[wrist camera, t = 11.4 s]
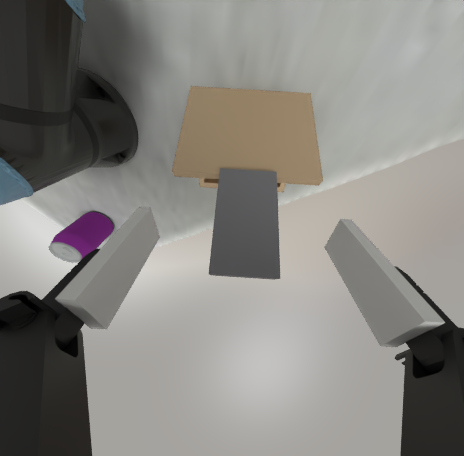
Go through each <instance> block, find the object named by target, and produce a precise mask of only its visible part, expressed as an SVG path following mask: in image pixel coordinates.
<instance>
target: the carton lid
mask: <svg viewBox="0 0 464 456" xmlns="http://www.w3.org/2000/svg"><path fill="white" fill-rule="evenodd" d="M172 172H173V174H174V176H177V177H193V178H209V179H219V182H218V191H217V200H216V210H215V219H214V229H213V238H212V248H211V257H210V266H209V274H210V275H216V276H230V277H245V278H261V279H280V258H279V229H278V197H277V183H288V184H304V185H319V184H320V183H321V182H322V181H323V177H322V170H321V163H320V156H319V149H318V142H317V135H316V128H315V121H314V114H313V107H312V100H311V93H297V92H280V91H263V90H246V89H230V88H213V87H196V86H191V88H190V92H189V97H188V101H187V106H186V110H185V115H184V119H183V124H182V128H181V133H180V137H179V142H178V146H177V151H176V155H175V160H174V164H173V169H172Z"/></svg>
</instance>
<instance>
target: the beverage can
mask: <svg viewBox="0 0 464 456" xmlns="http://www.w3.org/2000/svg"><path fill="white" fill-rule="evenodd" d="M113 229H114V227H113V224H112V222H111V220H110V219H109V218H108V217H106V216H105V215H103V214H100V213H96V212H88V213H86V214H84V215H83V216H81V217H80V218H79V219H77V220H76V221H75V222H73V223H72V224H71V225H69V226H68V227H66V228H65V229H64V230H62V231H61V232H60V233H58V234H57V235H56V236H55V237H54V239H53V241H52V243H51V244H50V246H49V250H50V251H51V253H52V254H54V255H55V256H56V257H58V258H60V259H62V260H64V261H68V262H79V261H80V260H82V259H83V258H84V256H85V255H87V254H89V253H90V252H92V251H93V250H95V249H96V248H97V247H98V246H99V245H100V244H101V243H102V242H103V241H104V240H105V239H106V238H107V237H108V236H109V235H110V234H111V233H112V232H113Z"/></svg>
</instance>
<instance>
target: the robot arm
mask: <svg viewBox="0 0 464 456" xmlns="http://www.w3.org/2000/svg"><path fill="white" fill-rule="evenodd" d="M83 8H84V0H0V205H2V204H6V203H9V202H12V201H15V200H18V199H21V198H24V197H29V196H31V195H32V194H33V193H34V192H36V191H38V190H40V189H43V188H45V187H47V186H49V185H51V184H54V183H56V182H58V181H60V180H62V179H65V178H67V177H69V176H71V175H73V174H76V173H78V172H80V171H82V170H84V169H86V168H89V167H114V166H118V165H121V164H123V163H124V162H126V161H128V160H129V159H130V158H132V156H133V155H134V153H135V151H136V149H137V145H138V132H137V127H136V124H135V120H134V118H133V115H132V113H131V111H130V109H129V108H128V106H127V104H126V103H125V101H124V100H123V98H122V97H121V96H120V95H119V93H118V92H117V91H116V90H115V89H114V88H113V87H112V86H111V85H110V84H109V83H107V82H106V81H105V80H104V79H102V78H101V77H99V76H98V75H96V74H94V73H92V72H90V71H87V70H84V69H81V68H78V61H79V52H80V43H81V35H82V26H83V22H84V23H85V21H86V16H85V14H84V12H83ZM159 238H160V237H159V233H158V230H157V227H156V223H155V220H154V217H153V214H152V210H151V208H150V207H139V208H138V209H137V210H136V211H135V212H134V214H133V215H132V216H131V217H130V218H129V219H128V220H127V221H126V222H125V223H124V224H123V225H122V227H121V228H120V229H119V230H118V231H117V232H116V233H115V234H114V235H113V236H112V237H111V238H110V240H109V241H108V242H107V243H106V244H105V245H104V246H103V247H102V248H101V249H95V250H93V251H92V252H90V253H89V254H87V255H85V256H84V258H83V259H82V260H81V261H80V262H79V263H78V265H76V266H75V267H74V268H73V269H72V270H71V272H69V273H68V274H67V275H66V276H65V277H64V278H63V279H62V280H61V281H60V282H59V283H58V284H57V285H56V286H55V287H54V288H53V289H52V290H51V291H50V292H49V293H48V294H47V295H46V296H45V297H44V298H43V299H42V300H40V299H39V298H38V297H36V296H35V295H34V294H32V293H30V292H28V291H19V292H16V293H12V294H9V295H7V296H5V297H3V298H1V299H0V456H92V448H91V436H90V423H89V411H88V398H87V385H86V373H85V360H84V347H83V337H82V332H81V330H80V329H81V328H82V326H83V325H84V323H85V324H86V325H87V326H88V327H90V328H92V329H93V328H94V329H107V328H108V326H109V324H110V323H111V321H112V319H113V317H114V316H115V314H116V312H117V311H118V309H119V307H120V305H121V303H122V302H123V300H124V298H125V297H126V295H127V293H128V291H129V290H130V288H131V286H132V284H133V283H134V281H135V279H136V278H137V276H138V274H139V272H140V271H141V269H142V267H143V265H144V264H145V262H146V260H147V259H148V257H149V255H150V253H151V251H152V250H153V248H154V246H155V245H156V243H157V241H158V239H159ZM325 249H326V251H327V253H328V254H329V256H330V258H331V260H332V261H333V263H334V265H335V267H336V268H337V270H338V272H339V274H340V275H341V277H342V279H343V281H344V283H345V284H346V286H347V288H348V289H349V291H350V293H351V295H352V297H353V299H354V300H355V302H356V304H357V306H358V308H359V309H360V311H361V313H362V315H363V316H364V318H365V320H366V322H367V323H368V325H369V327H370V328H371V330H372V332H373V334H374V336H375V337H376V339H377V341H378V343H379V345H380V346H386V347H398V346H400V345H402V344H404V343H406V344H407V345H408V347H409V348H410V349H409V350H406V351H404V352H402V353H400V354H397V355H396V357H395V359H396V360H400V359H402V358H404V357H405V361H404V362H402V364H403V365H405V376H404V397H403V417H402V437H401V438H402V439H401V456H464V328H458V327H457V326H456V325H455V324H454V323H453V322H452V321H451V320H450V319H449V318H448V317H447V316H446V315H445V314H444V312H443V311H442V310H441V309H440V308H439V307H438V306H437V305H436V304H435V303H434V302H433V301H432V300H431V299H430V298H429V297H428V296H427V295H426V294H425V293H423V290H422V289H421V288H420V287H419V286H417V285H416V283H415V282H414V281H413V280H412V279H411V278H410V277H409V276H408V275H407V274H406V273H404V272H403V271H402V270H400V269H399V268H398V267H394V266H393V265H392V264H391V263H390V262H389V260H388V259H387V258H386V257H385V256H384V255H383V254H382V253H381V252H380V250H379V249H378V248H376V246H375V245H374V244H373V243H372V242H371V241H370V240H369V238H368V237H367V236H366V235H365V234H364V233H363V232H362V231H361V230H360V229H359V227H358V226H357V225H356V224H355V223H354V222H353V221H352V220H348V219H340V221H339V222H338V224H337V226H336V228H335V230H334V232H333V233H332V235H331V237H330V238H329V240H328V243H327V244H326V246H325Z"/></svg>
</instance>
